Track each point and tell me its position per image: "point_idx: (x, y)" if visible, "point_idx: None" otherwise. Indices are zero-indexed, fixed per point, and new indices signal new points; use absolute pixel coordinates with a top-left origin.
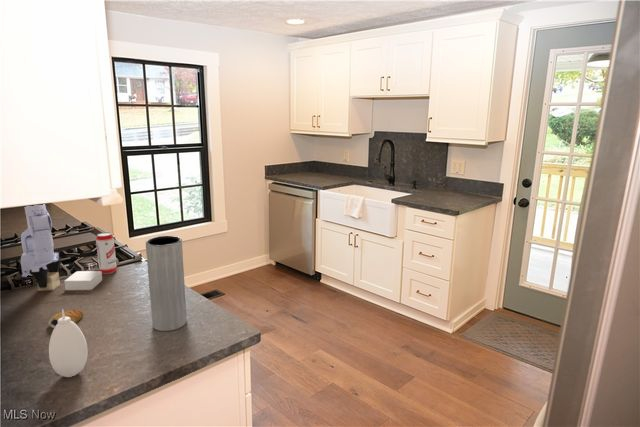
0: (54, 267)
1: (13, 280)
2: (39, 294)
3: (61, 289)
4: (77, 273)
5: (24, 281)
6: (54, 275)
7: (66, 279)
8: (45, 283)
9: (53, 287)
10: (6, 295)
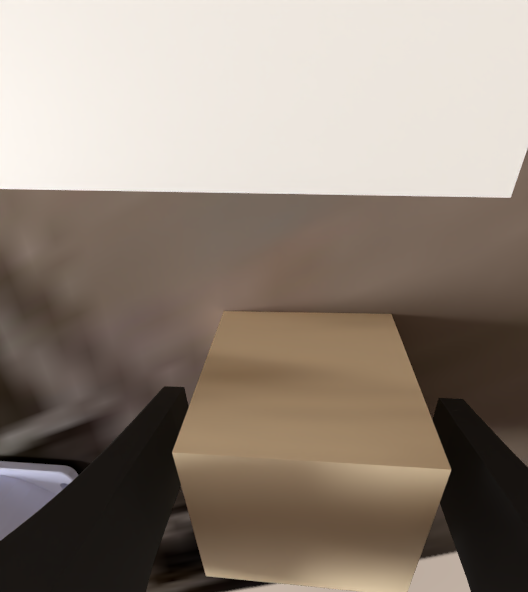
0: (100, 580)
1: (174, 578)
2: (486, 391)
3: (386, 229)
4: (27, 93)
5: (182, 541)
6: (326, 456)
7: (426, 184)
8: (506, 448)
9: (382, 331)
10: (427, 555)
